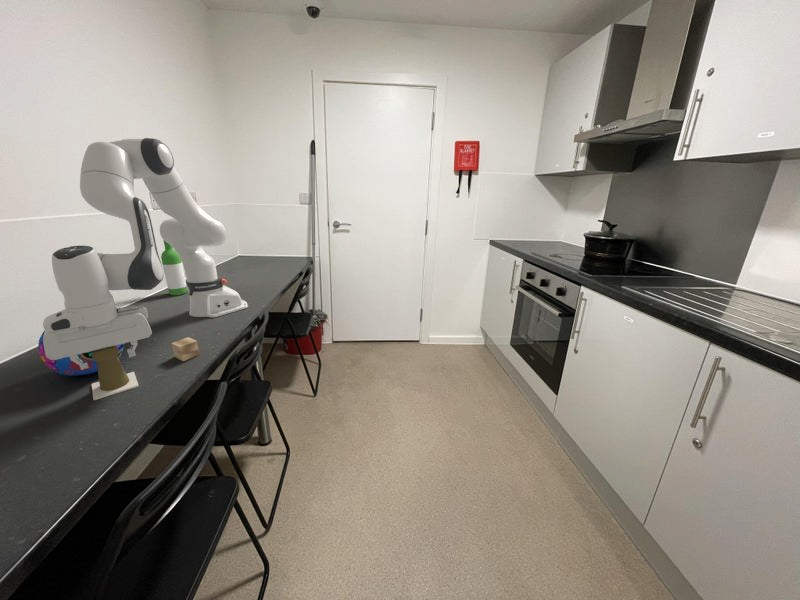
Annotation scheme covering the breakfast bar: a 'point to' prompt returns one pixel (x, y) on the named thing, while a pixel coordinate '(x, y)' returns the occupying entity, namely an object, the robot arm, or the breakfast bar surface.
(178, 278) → the wine bottle
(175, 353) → the oak cube
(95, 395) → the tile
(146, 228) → the robot arm
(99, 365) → the cork
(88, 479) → the breakfast bar surface
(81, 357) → the ceramic pot
